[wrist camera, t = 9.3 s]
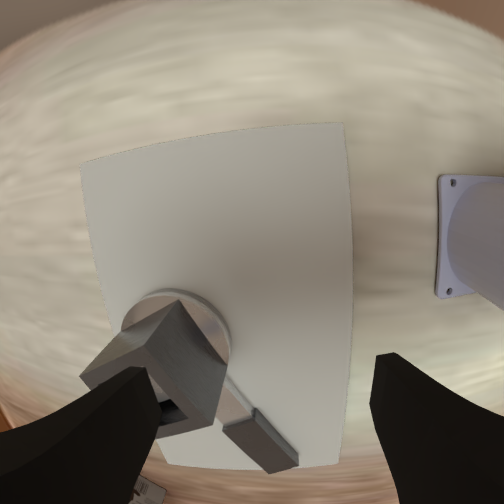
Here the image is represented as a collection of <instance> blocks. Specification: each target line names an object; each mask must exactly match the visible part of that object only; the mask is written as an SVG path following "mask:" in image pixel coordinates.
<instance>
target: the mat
mask: <svg viewBox="0 0 504 504" xmlns="http://www.w3.org/2000/svg"><path fill="white" fill-rule="evenodd" d="M80 172H81V182H82V191H83V199H84V206H85V213H86V219H87V226H88V231H89V237H90V242H91V248H92V253H93V258H94V262H95V267H96V271H97V276H98V280H99V284H100V288H101V292H102V296H103V300H104V303H105V307H106V310H107V314H108V317H109V321H110V324H111V327H112V331H113V334H114V337H115V336H116V335H117V334H118V333H119V332H120V331H121V325H122V322H123V319H124V317H125V315H126V314H127V312H128V311H129V310H130V309H131V308H132V307H133V306H134V305H135V304H136V303H137V302H138V301H139V300H140V299H141V298H142V297H144V296H145V295H146V294H148V293H150V292H152V291H155V290H158V289H164V288H176V289H182V290H187V291H190V292H192V293H195V294H197V295H199V296H201V297H202V298H204V299H206V300H207V301H208V302H210V303H211V304H212V305H213V306H214V307H215V308H216V309H217V310H218V311H219V312H220V313H221V315H222V316H223V317H224V319H225V321H226V322H227V325H228V327H229V330H230V333H231V338H232V349H231V354H230V358H229V362H228V367H227V371H226V375H227V376H228V378H229V379H230V380H231V381H232V383H233V384H234V385H235V386H236V388H237V389H238V390H239V391H240V392H241V394H242V395H243V396H244V397H245V398H246V399H247V401H248V402H249V403H250V404H251V405H252V407H253V408H257V409H258V410H259V411H260V412H261V413H262V414H263V416H264V417H265V418H266V419H267V420H268V421H269V422H270V424H271V425H272V426H273V427H274V428H275V429H276V430H277V431H278V432H279V434H280V435H281V436H282V437H283V438H284V439H285V440H286V441H287V442H288V443H289V444H290V445H291V447H292V448H293V449H294V450H295V451H296V452H297V453H298V454H299V466H297V467H294V468H304V467H314V466H323V465H331V464H338V460H339V454H340V448H341V441H342V435H343V427H344V420H345V412H346V403H347V394H348V383H349V372H350V358H351V342H352V318H353V241H352V217H351V200H350V187H349V175H348V164H347V154H346V145H345V137H344V129H343V122H341V123H313V124H296V125H283V126H271V127H261V128H252V129H243V130H235V131H228V132H221V133H214V134H208V135H202V136H196V137H190V138H185V139H179V140H174V141H169V142H164V143H159V144H155V145H150V146H146V147H141V148H137V149H133V150H129V151H125V152H121V153H117V154H113V155H109V156H106V157H102V158H98V159H95V160H92V161H88V162H85V163H82V164H80ZM222 428H223V424H222V423H221V422H220V421H219V420H218V419H217V418H216V417H215V419H214V423H213V425H212V426H208V427H205V428H201V429H197V430H194V431H190V432H186V433H182V434H178V435H174V436H169V437H165V438H160V439H156V441H157V443H158V445H159V447H160V449H161V451H162V453H163V455H164V457H165V458H166V460H167V462H168V464H174V465H182V466H191V467H201V468H215V469H237V470H263V469H262V468H261V467H260V466H259V465H258V464H257V463H255V462H254V461H253V460H252V459H251V458H250V457H249V456H248V455H246V454H245V453H244V452H243V451H242V450H241V449H240V448H239V447H238V446H237V445H236V444H235V443H234V442H233V441H232V440H230V439H229V438H228V437H227V436H226V435H225V434H224V433H223V432H222Z"/></svg>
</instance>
